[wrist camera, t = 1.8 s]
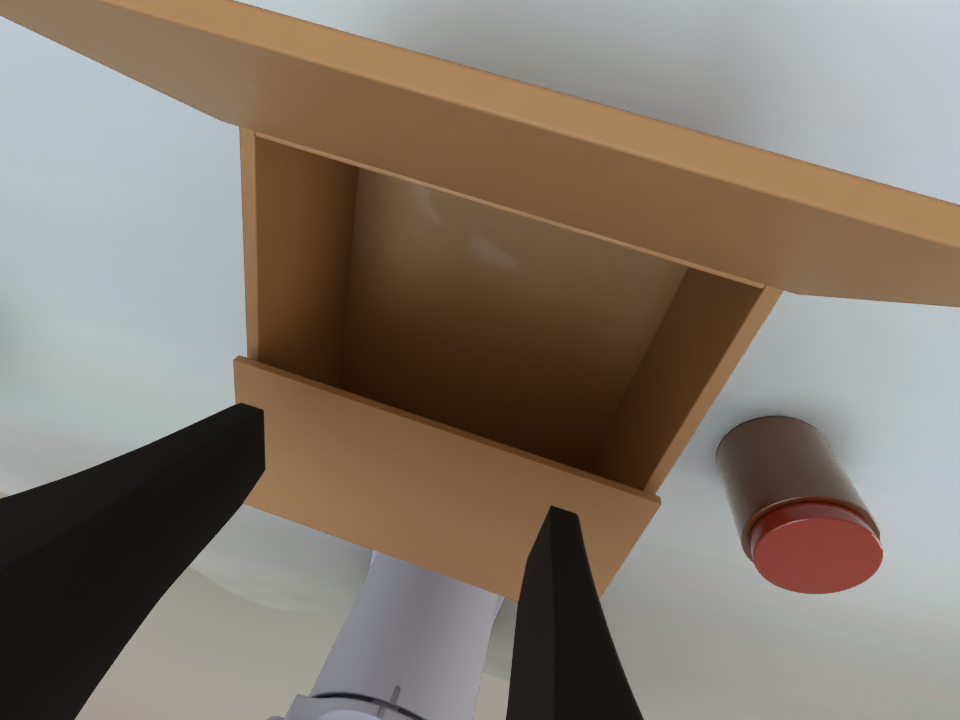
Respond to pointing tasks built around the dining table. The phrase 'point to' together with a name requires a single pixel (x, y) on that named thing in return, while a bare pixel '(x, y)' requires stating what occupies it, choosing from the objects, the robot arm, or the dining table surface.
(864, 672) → the dining table surface
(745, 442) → the spice jar
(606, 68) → the dining table surface
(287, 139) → the flap
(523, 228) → the carton
